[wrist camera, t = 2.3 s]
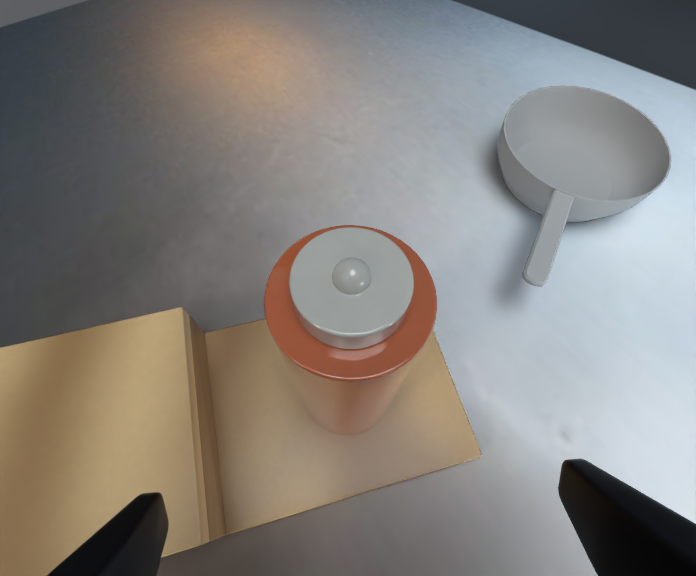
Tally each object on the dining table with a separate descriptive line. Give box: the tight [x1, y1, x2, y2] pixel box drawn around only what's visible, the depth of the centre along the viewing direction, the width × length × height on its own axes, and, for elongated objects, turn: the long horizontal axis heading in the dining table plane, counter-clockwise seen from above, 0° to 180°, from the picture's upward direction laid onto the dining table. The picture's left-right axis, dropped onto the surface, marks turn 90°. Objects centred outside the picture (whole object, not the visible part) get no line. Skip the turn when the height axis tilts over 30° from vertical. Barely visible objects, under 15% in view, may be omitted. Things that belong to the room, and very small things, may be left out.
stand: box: [0, 307, 482, 576], centre depth 19 cm, size 24×10×4 cm, turn 105°
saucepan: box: [498, 86, 671, 287], centre depth 26 cm, size 11×18×4 cm, turn 151°
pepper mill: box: [264, 225, 437, 435], centre depth 15 cm, size 5×5×12 cm
